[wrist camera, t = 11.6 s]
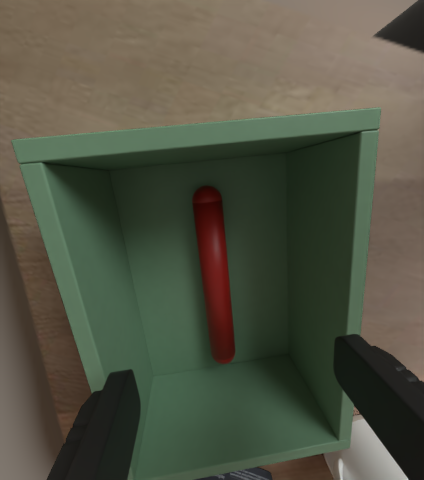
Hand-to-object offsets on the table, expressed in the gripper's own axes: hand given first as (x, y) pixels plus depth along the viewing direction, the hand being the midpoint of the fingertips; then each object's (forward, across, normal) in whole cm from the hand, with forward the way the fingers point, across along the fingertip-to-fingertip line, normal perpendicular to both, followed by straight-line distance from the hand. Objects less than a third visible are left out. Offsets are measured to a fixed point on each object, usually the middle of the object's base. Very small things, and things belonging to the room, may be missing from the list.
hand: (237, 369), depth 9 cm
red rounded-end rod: (+9, 0, 0) cm, 9 cm away
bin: (+10, 0, 0) cm, 10 cm away
